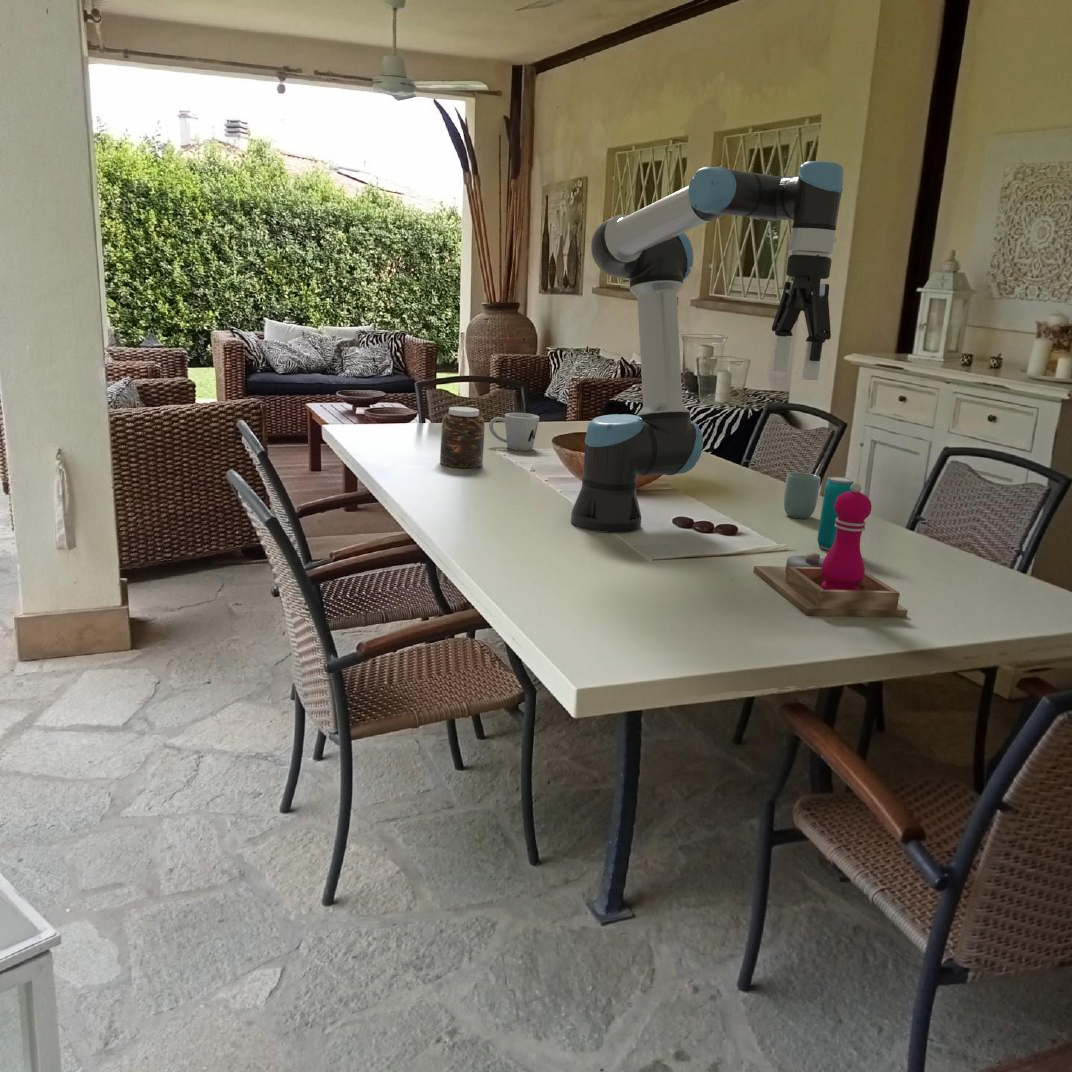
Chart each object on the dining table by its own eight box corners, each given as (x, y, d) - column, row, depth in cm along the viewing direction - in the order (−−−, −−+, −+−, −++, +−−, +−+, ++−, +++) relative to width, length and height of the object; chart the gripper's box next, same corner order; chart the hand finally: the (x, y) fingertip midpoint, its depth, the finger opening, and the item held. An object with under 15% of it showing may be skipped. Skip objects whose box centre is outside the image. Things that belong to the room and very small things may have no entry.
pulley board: (806, 615, 165) (810, 585, 163) (753, 572, 188) (756, 545, 186) (906, 616, 168) (911, 587, 166) (842, 573, 191) (846, 547, 189)
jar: (491, 465, 271) (494, 410, 267) (466, 470, 261) (469, 413, 257) (456, 458, 277) (459, 404, 273) (430, 463, 267) (433, 407, 263)
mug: (536, 452, 295) (539, 419, 292) (486, 448, 294) (488, 415, 292) (537, 446, 305) (539, 414, 302) (488, 443, 305) (490, 410, 302)
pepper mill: (811, 588, 176) (828, 477, 171) (850, 589, 177) (868, 479, 171) (826, 601, 169) (844, 486, 164) (867, 603, 170) (886, 488, 164)
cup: (815, 522, 232) (822, 480, 229) (781, 518, 233) (787, 476, 231) (813, 515, 239) (819, 474, 237) (780, 511, 241) (786, 470, 238)
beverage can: (844, 547, 211) (855, 478, 207) (843, 554, 205) (855, 483, 201) (817, 543, 212) (827, 474, 208) (815, 549, 207) (825, 479, 203)
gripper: (863, 256, 165) (843, 384, 170) (801, 256, 189) (785, 369, 194) (820, 252, 164) (802, 382, 169) (763, 253, 187) (749, 367, 193)
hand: (793, 375), depth 182 cm, fingers open, 13 cm apart
